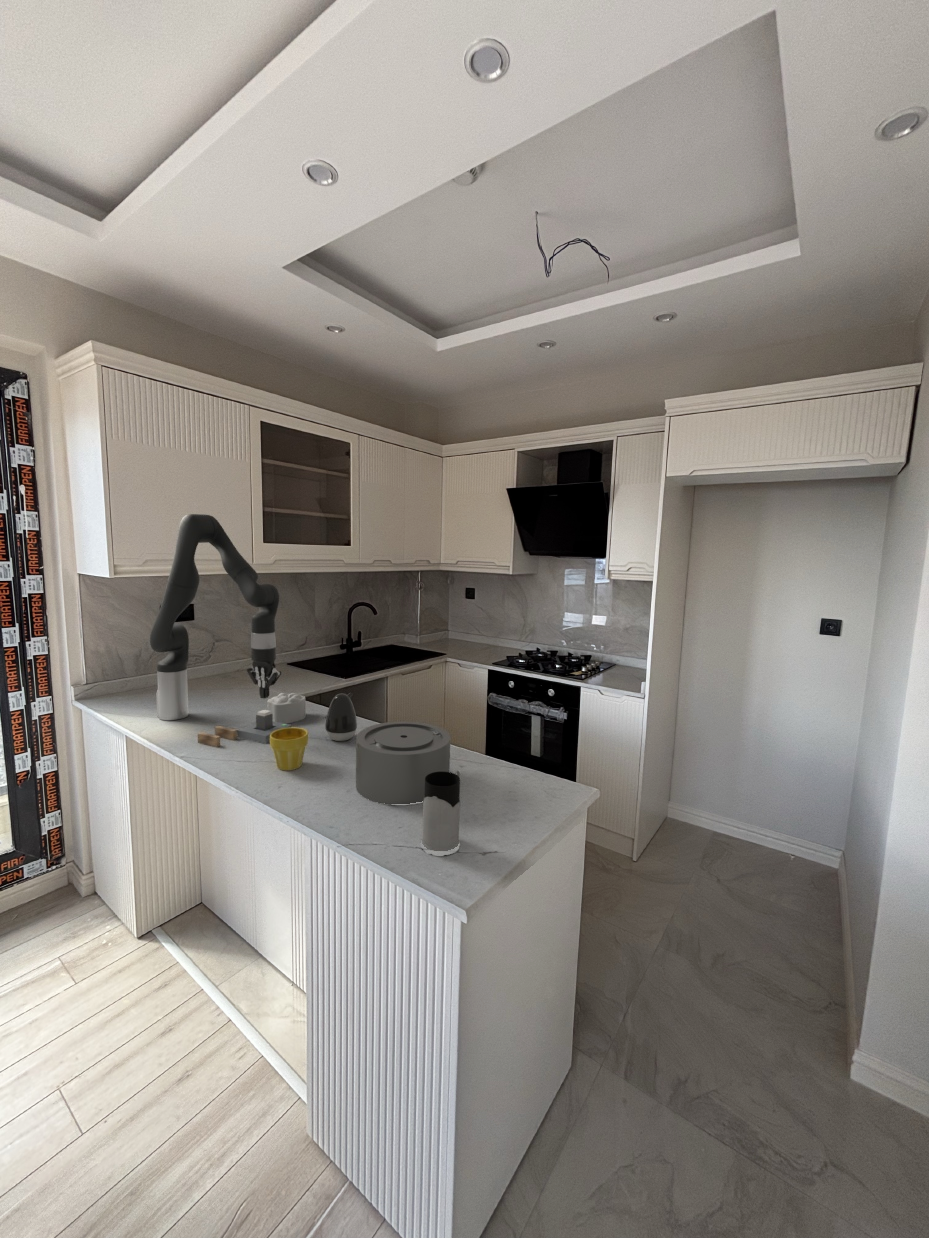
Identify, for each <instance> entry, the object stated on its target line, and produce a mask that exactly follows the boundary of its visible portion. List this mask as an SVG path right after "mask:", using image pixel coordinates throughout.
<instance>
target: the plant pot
mask: <svg viewBox="0 0 929 1238" xmlns="http://www.w3.org/2000/svg"><path fill="white" fill-rule="evenodd" d="M308 744H309V731H308V730H307V729H305V728H302V727H295V726H294V727H293V726H292V727H289V728H282V729H278V730H275V731H273V732H272V733H271V734H270V742H269V747H270V748H271V749H272V751H273V755H274V759H275V764H276V767H277V769H278V770H281V771H293V770H296V769H299V768H301V766H302V763H303V761H304V754H305V750H306V746H308Z"/></svg>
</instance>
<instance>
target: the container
mask: <svg viewBox="0 0 929 1238" xmlns="http://www.w3.org/2000/svg"><path fill="white" fill-rule="evenodd" d="M450 761H451V734H450V733H449V732H448V731H447V730H446V729H445V728H443V727H440V726H439V725H435V724H431V723H426V722H421V721H409V720H408V721H407V720H406V721H405V720H403V721H402V720H400V721H399V720H398V721H387V722H381V723H378V724H377V723H376V724H372V725H370V726H368V727H365V728H364V729H362V730H360V731H359V732H357V733H356V737H355V788H356V791H357V793H358V794H359V795H360V796H361V795H362V796H361V797H362V798H364V799H366V800H368V799H369V800H368V801H370V802H374V803H376V802H378V803H377V804H380V803H385V804H410V803H416V802H422V801H423V799H424V792H425V777H426V776H427V775H428V774H430V773H433V772H440V771H442V772H450V766H451V765H450V763H451V762H450ZM385 804H384V805H385Z"/></svg>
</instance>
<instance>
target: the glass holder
mask: <svg viewBox="0 0 929 1238" xmlns="http://www.w3.org/2000/svg"><path fill="white" fill-rule="evenodd" d="M460 788H461V772H460V770H457V769H455V770H454V771H453V772H451V771H449V772H442V771H440V772H433V773H430V774H428V775H427V776H426V777H425V792H424V799H423V803H422V806H423V807H422V809H423V810H422V838H421V840H422V844H423V845H424V847H426V848H427V849H430V850H434V851H448V850H451V849H454V848H455V847H457V846H458V844H459V841H460V812H461V800H460V790H461V789H460Z"/></svg>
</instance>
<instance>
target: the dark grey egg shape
mask: <svg viewBox="0 0 929 1238" xmlns="http://www.w3.org/2000/svg"><path fill="white" fill-rule="evenodd" d="M352 696H353V693H352V692H349V693H348V694H346V693H342V692H341V693H338V694H336V695H335V696H334V697H333V698H332V700H331V702H330V705H329V708H328V710H327V715H326V717H325V718H326V719H325V725H324V726H325V727H324V728H325V731H326V733H327V736H328V737H329V738H330V739H331V740H333V741H337V742H346V741H349V740H350V739H352V737H354V735H355V733H356V730H357V729H358V722H357V715H356V710H355V708H354V704H353V702H352V701H353V700H351V697H352Z"/></svg>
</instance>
